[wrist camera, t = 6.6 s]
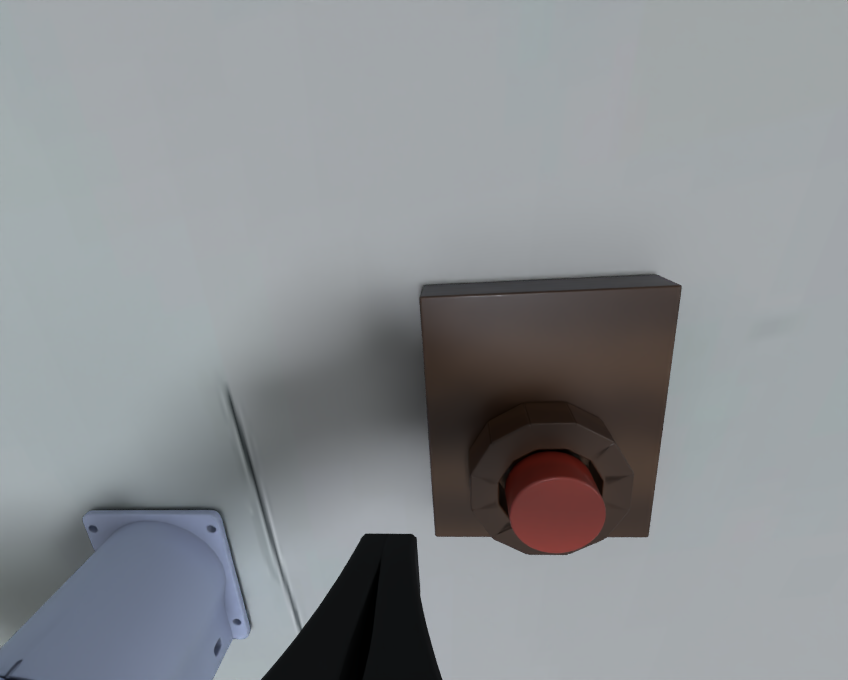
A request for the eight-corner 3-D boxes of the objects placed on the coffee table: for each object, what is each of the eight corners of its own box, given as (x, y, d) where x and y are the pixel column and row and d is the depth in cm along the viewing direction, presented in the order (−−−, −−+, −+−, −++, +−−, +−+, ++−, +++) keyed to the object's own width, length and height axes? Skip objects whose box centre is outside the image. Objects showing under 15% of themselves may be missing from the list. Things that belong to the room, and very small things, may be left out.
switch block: (631, 505, 23) (666, 570, 19) (436, 506, 23) (433, 567, 20) (657, 274, 19) (708, 296, 15) (423, 284, 20) (415, 308, 16)
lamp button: (590, 521, 19) (603, 554, 17) (504, 521, 19) (509, 554, 17) (595, 449, 18) (610, 476, 16) (504, 450, 18) (509, 477, 16)
